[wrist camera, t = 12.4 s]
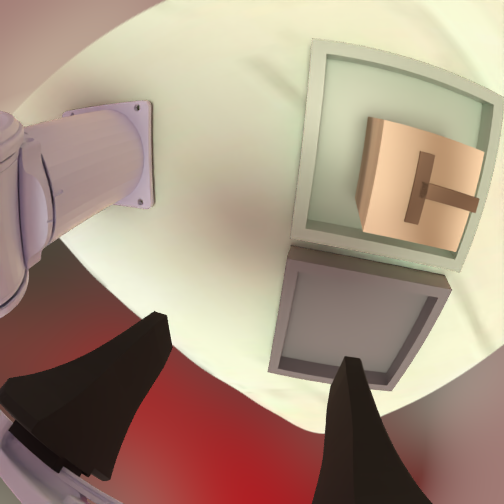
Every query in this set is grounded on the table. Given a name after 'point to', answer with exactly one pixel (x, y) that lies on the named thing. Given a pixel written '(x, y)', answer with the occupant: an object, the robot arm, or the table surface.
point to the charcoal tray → (352, 316)
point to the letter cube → (416, 184)
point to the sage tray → (353, 136)
